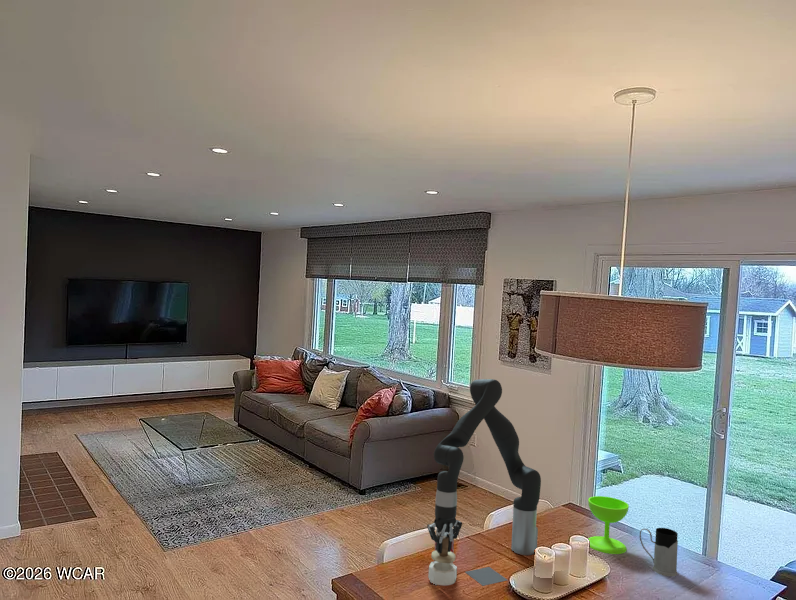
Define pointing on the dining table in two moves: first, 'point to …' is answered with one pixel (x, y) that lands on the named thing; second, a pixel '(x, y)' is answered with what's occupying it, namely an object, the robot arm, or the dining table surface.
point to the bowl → (442, 573)
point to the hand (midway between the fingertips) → (443, 551)
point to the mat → (486, 576)
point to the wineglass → (607, 522)
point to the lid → (444, 553)
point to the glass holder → (664, 551)
